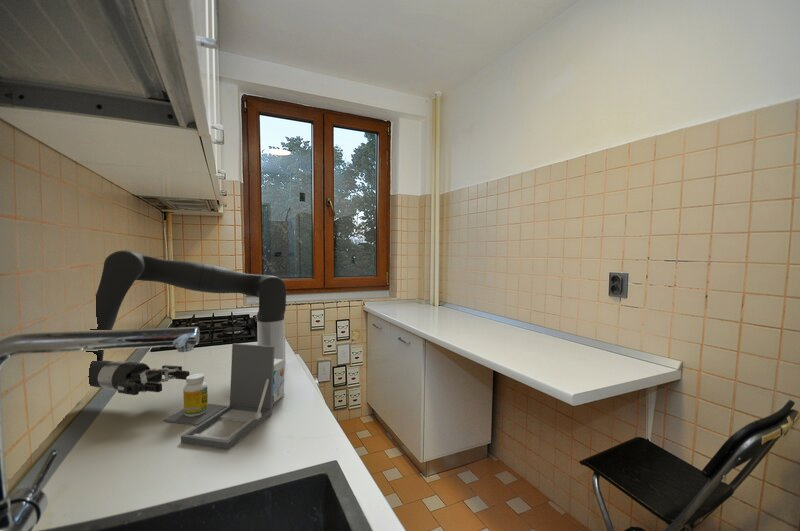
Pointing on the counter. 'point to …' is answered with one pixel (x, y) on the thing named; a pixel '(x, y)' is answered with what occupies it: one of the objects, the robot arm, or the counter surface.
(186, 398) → the supplement bottle
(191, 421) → the pad
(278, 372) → the light bulb box
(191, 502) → the counter surface
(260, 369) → the case
